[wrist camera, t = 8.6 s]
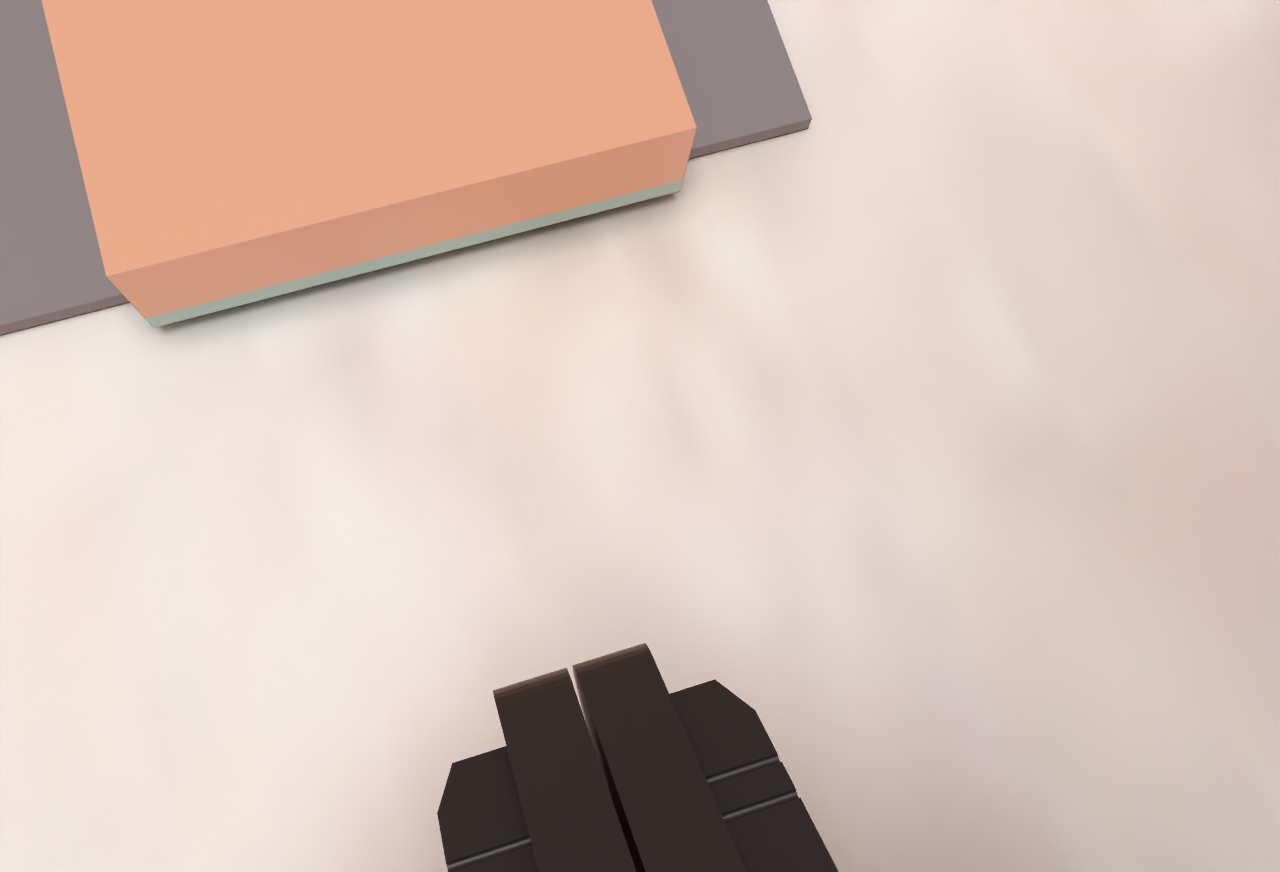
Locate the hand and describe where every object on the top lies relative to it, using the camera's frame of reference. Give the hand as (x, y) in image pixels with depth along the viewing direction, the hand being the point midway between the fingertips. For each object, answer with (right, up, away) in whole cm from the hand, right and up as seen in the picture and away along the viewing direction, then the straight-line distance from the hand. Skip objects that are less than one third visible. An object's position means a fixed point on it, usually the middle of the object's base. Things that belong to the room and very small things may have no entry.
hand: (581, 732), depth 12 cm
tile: (-3, +6, +10) cm, 12 cm away
